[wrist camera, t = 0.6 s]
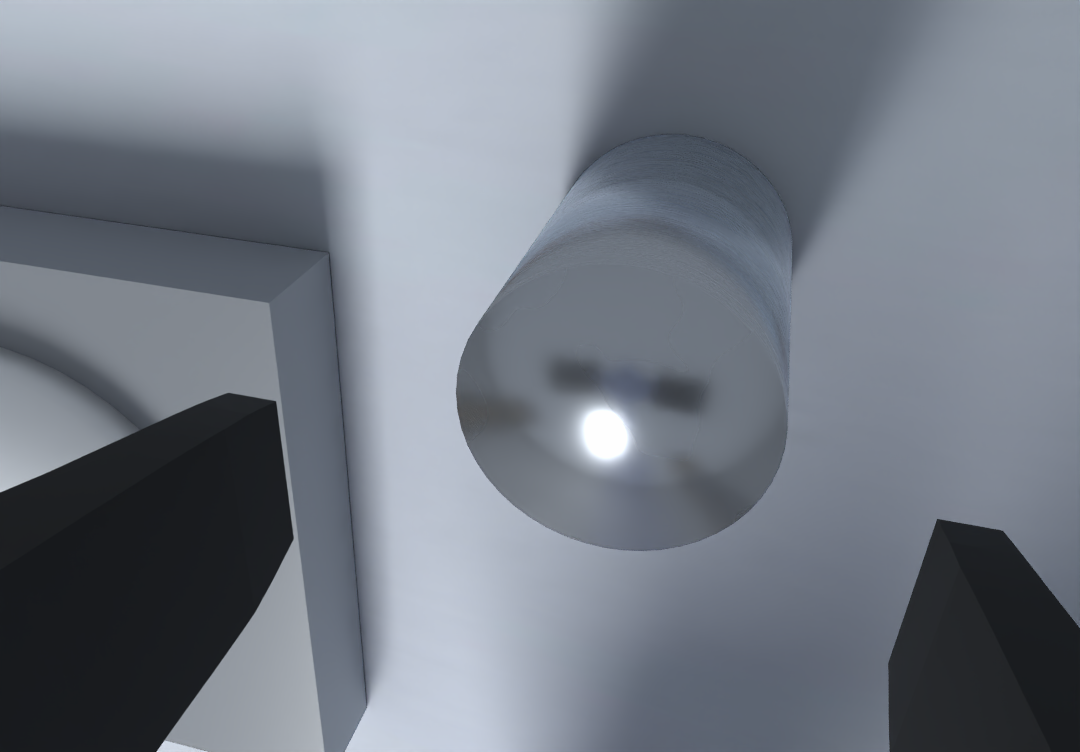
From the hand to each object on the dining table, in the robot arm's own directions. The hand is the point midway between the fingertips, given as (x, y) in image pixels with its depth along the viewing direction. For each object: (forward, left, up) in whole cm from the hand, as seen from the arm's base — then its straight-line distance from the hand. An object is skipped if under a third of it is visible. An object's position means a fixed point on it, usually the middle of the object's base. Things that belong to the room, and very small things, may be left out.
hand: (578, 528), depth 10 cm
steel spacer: (0, 0, -8) cm, 8 cm away
